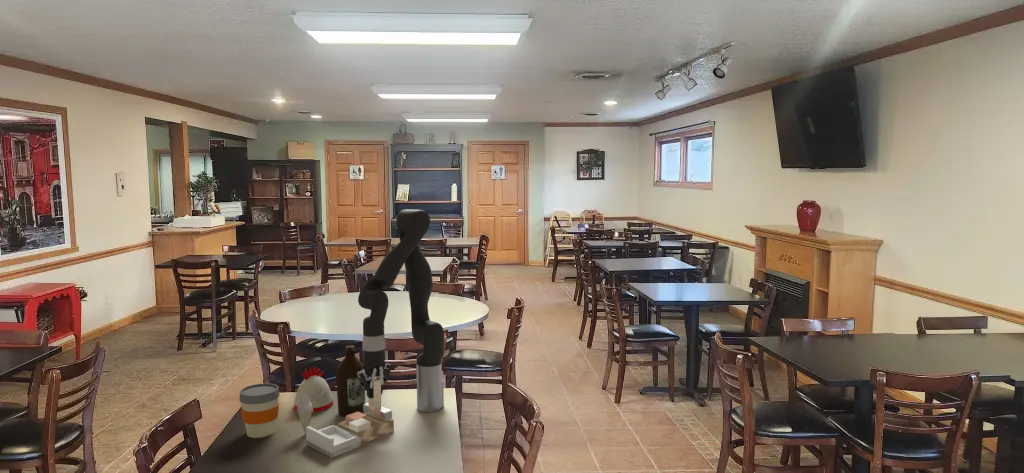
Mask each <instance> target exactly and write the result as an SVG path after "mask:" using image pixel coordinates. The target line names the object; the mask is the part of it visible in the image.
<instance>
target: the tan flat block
mask: <svg viewBox="0 0 1024 473" xmlns="http://www.w3.org/2000/svg"><path fill="white" fill-rule="evenodd" d="M364 414H365V415H367V420H368V421H370V422H371V428H368V429H366V430H363V431H360V432H356V431H354V430H352V429H350V428H349V423H348V422H346V419H345V420H344V421H340V422H337V426H338V427H340V428H343V429H345V430H347V431H349V432H351V433H353V434H355V435H357V436H360V437H361V445H363V444H365V443H368V442H370V441H373V440H375V439H377V438H381V437H383V436H385V435H388V434H391V433H392V432H394V431H395V424H394V423H395V420H394V419H393V418H392V419H391V420H388V421H382V420H380V419H378V418H375V417H373V416H370V415H368V414H366V413H364Z"/></svg>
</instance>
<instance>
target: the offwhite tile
mask: <svg viewBox="0 0 1024 473" xmlns="http://www.w3.org/2000/svg"><path fill="white" fill-rule="evenodd" d="M349 428H350V429H352V430H354V431H356V432H360V431H363V430H366V429H368V428H371V422H370V421H368V420H365V419H363V418H360V419H357V420H354V421H351V422H349Z"/></svg>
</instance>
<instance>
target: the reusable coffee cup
mask: <svg viewBox="0 0 1024 473" xmlns="http://www.w3.org/2000/svg"><path fill="white" fill-rule="evenodd" d="M280 394H281V393H280V389H279V386H278V385H277V384H275V383H271V382H270V383H265V382H264V383H256V384H251V385H247V386H245V387H243V388H242V389H240V392H239V399H238V400H239V402H240V404H241V405H240V406H241V407H240V412H241V418H242V422H243V423H244V426H245V430H246V432H245V433H246V436H247V437H249V438H253V439H256V438H257V439H258V438H260V439H261V438H264V437H268V436H271V435H272V434H275V432H276V427H277V425H276V423H277V418H278V416H279V409H280V408H279V407H280V402H279V397H280Z"/></svg>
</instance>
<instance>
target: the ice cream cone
mask: <svg viewBox="0 0 1024 473" xmlns="http://www.w3.org/2000/svg"><path fill="white" fill-rule="evenodd" d="M297 410H298V411H297ZM297 410H296V411H297V412H296V413H297V414H298V417H299V422H300V423H301V425H302V426H301V427H302V429H303V432H304V435H306V427H308V426H310V422H311V417H312V414H313V412H312V411H313V409H312V403H311V402H309V399H308V397H307V396H306V394H305V392H304V394H303V396H302V398H301V402H300V403H299V405H298V408H297Z"/></svg>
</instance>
